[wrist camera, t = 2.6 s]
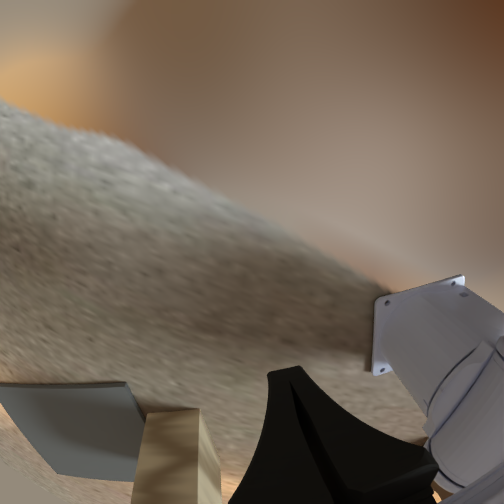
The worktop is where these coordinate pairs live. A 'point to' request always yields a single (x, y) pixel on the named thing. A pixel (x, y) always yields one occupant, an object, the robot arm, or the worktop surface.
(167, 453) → the birch block
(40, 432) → the mat
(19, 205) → the worktop surface
